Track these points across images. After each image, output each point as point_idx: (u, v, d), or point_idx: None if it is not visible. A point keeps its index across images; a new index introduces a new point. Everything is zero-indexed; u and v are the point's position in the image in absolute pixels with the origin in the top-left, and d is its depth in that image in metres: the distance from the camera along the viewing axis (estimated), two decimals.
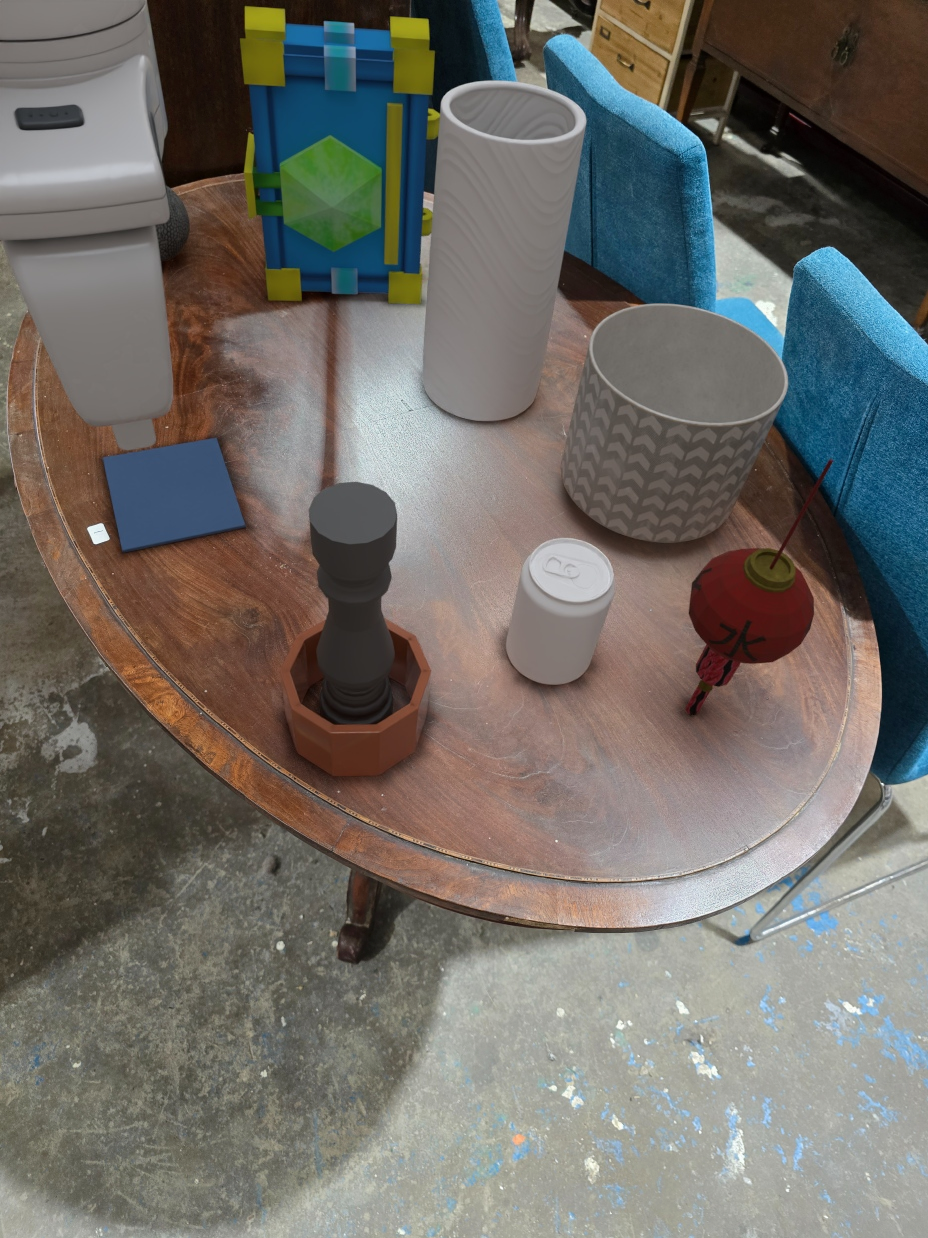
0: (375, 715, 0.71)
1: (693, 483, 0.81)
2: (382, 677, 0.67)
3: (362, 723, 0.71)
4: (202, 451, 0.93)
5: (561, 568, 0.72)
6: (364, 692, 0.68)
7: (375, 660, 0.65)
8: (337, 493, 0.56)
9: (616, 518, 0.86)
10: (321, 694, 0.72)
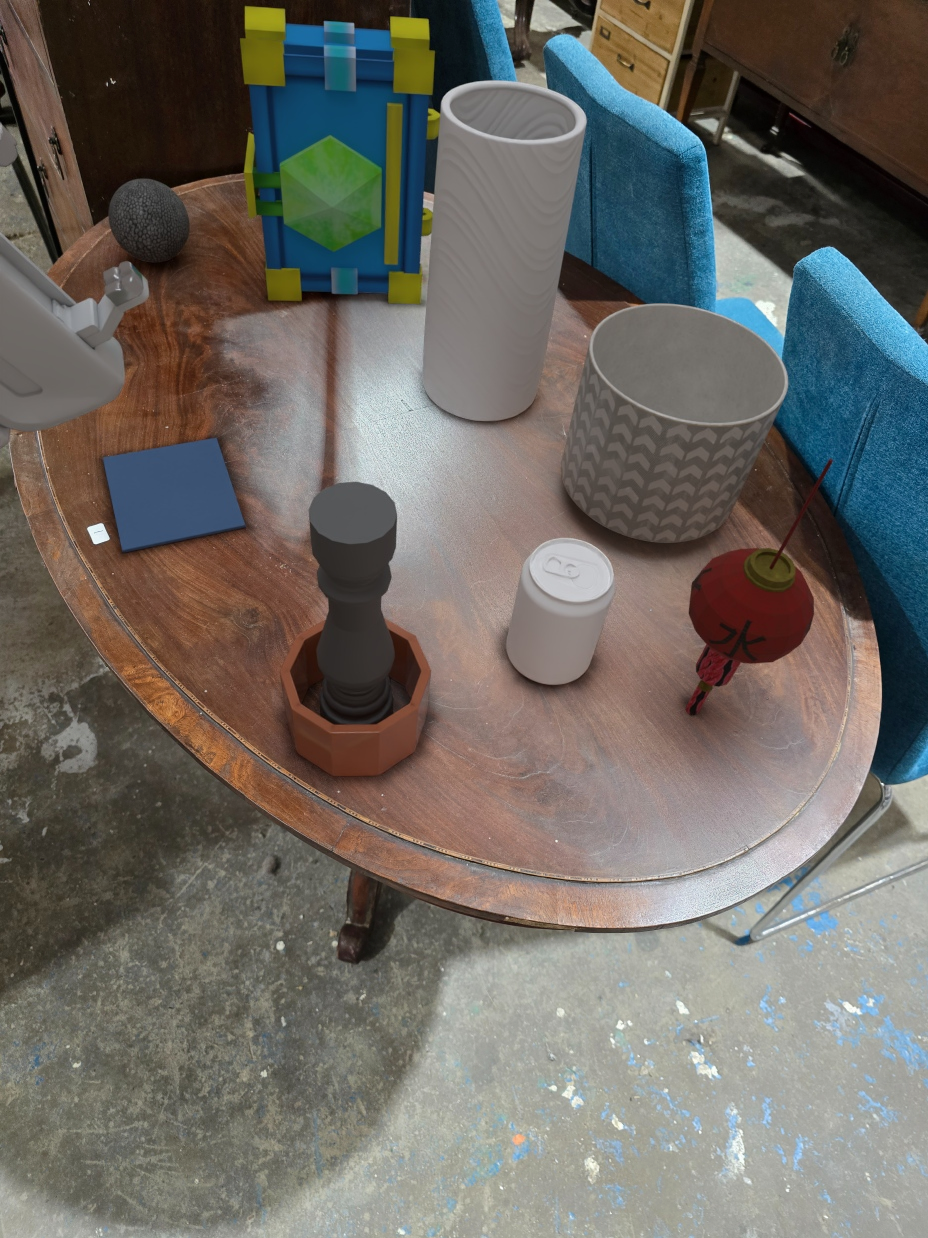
0: (375, 715, 0.71)
1: (693, 483, 0.81)
2: (382, 677, 0.67)
3: (362, 723, 0.71)
4: (202, 451, 0.93)
5: (561, 568, 0.72)
6: (364, 692, 0.68)
7: (375, 660, 0.65)
8: (337, 493, 0.56)
9: (616, 518, 0.86)
10: (321, 694, 0.72)
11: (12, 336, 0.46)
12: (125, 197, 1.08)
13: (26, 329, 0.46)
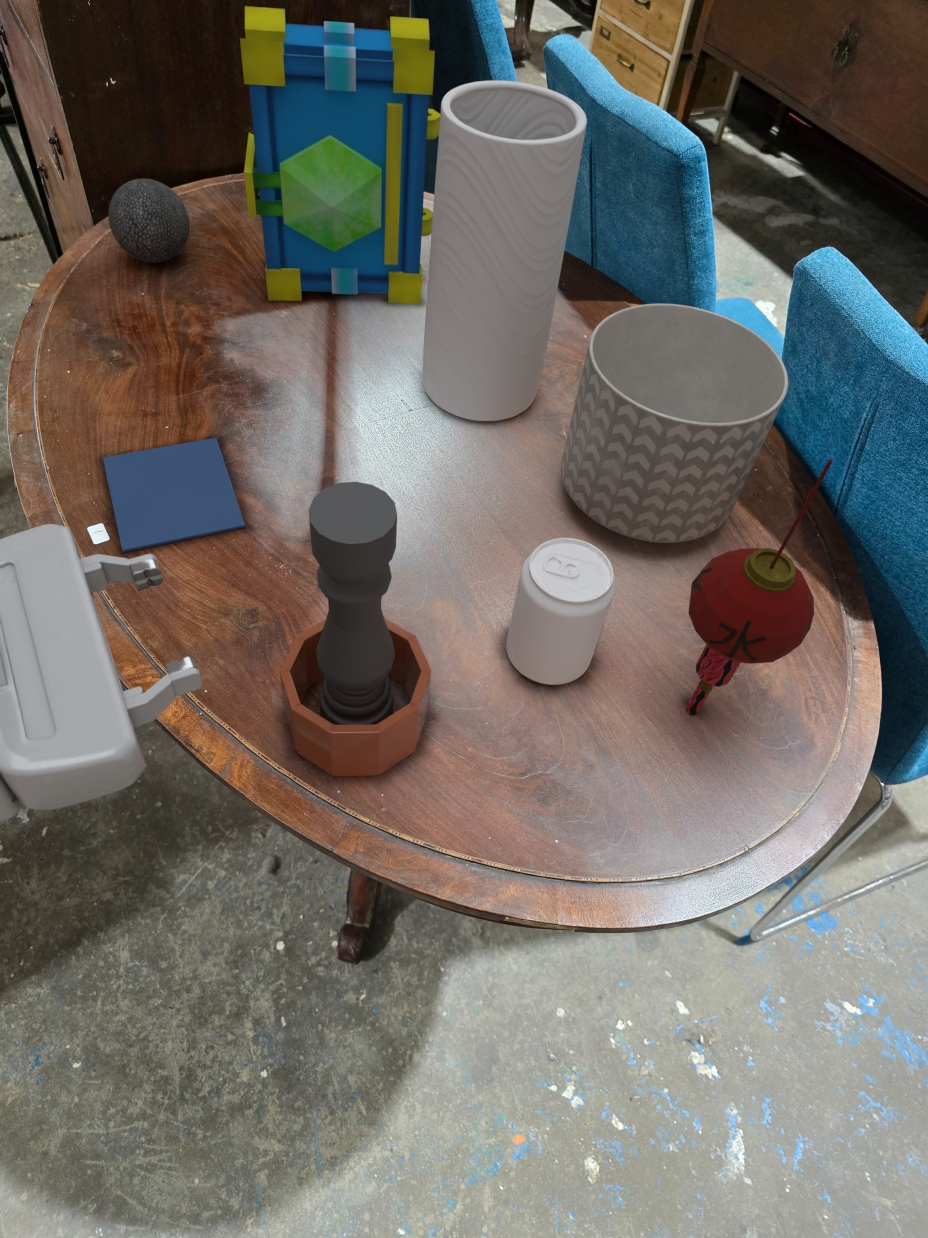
0: (375, 715, 0.71)
1: (693, 483, 0.81)
2: (382, 677, 0.67)
3: (362, 723, 0.71)
4: (202, 451, 0.93)
5: (561, 568, 0.72)
6: (364, 692, 0.68)
7: (375, 660, 0.65)
8: (337, 493, 0.56)
9: (616, 518, 0.86)
10: (321, 694, 0.72)
11: (69, 671, 0.52)
12: (125, 197, 1.08)
13: (85, 666, 0.52)
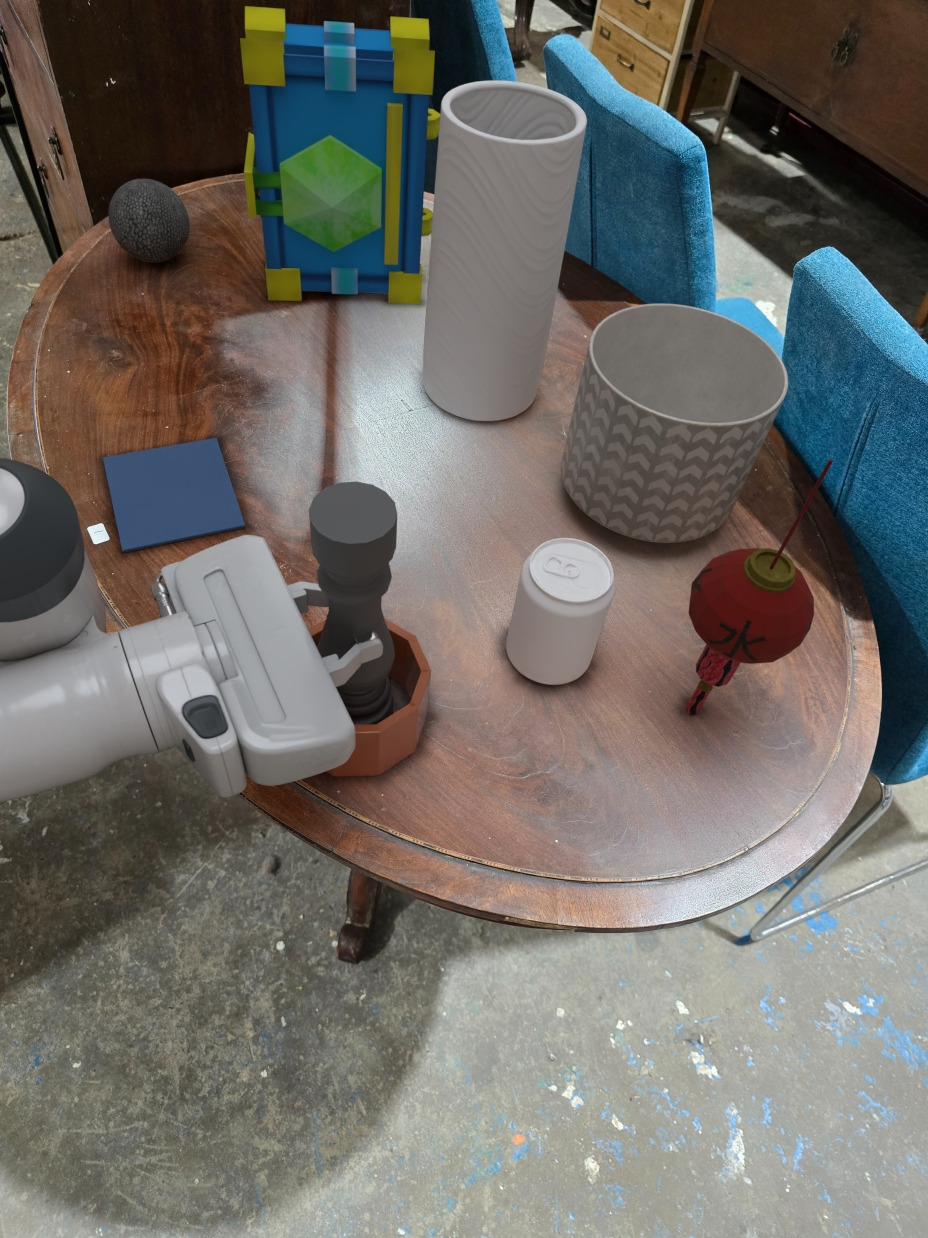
0: (375, 715, 0.71)
1: (693, 483, 0.81)
2: (382, 677, 0.67)
3: (362, 723, 0.71)
4: (202, 451, 0.93)
5: (561, 568, 0.72)
6: (364, 692, 0.68)
7: (375, 660, 0.65)
8: (337, 493, 0.56)
9: (616, 518, 0.86)
10: None
11: (288, 664, 0.59)
12: (125, 197, 1.08)
13: (301, 660, 0.60)
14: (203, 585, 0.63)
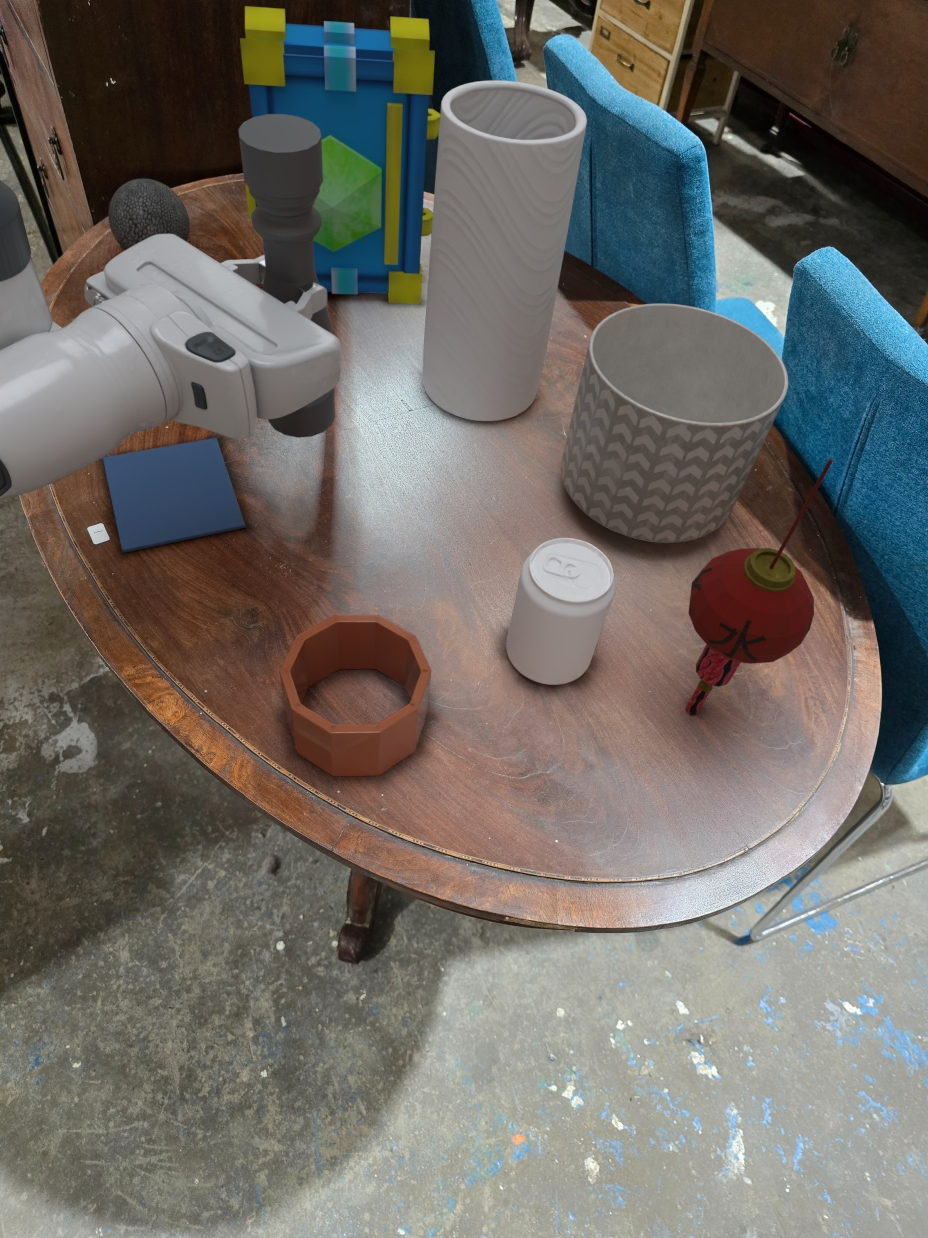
0: None
1: (693, 483, 0.81)
2: None
3: (316, 402, 0.76)
4: (202, 451, 0.93)
5: (561, 568, 0.72)
6: None
7: (319, 316, 0.70)
8: (257, 123, 0.60)
9: (616, 518, 0.86)
10: None
11: (256, 310, 0.63)
12: (125, 197, 1.08)
13: (265, 305, 0.64)
14: (140, 275, 0.65)
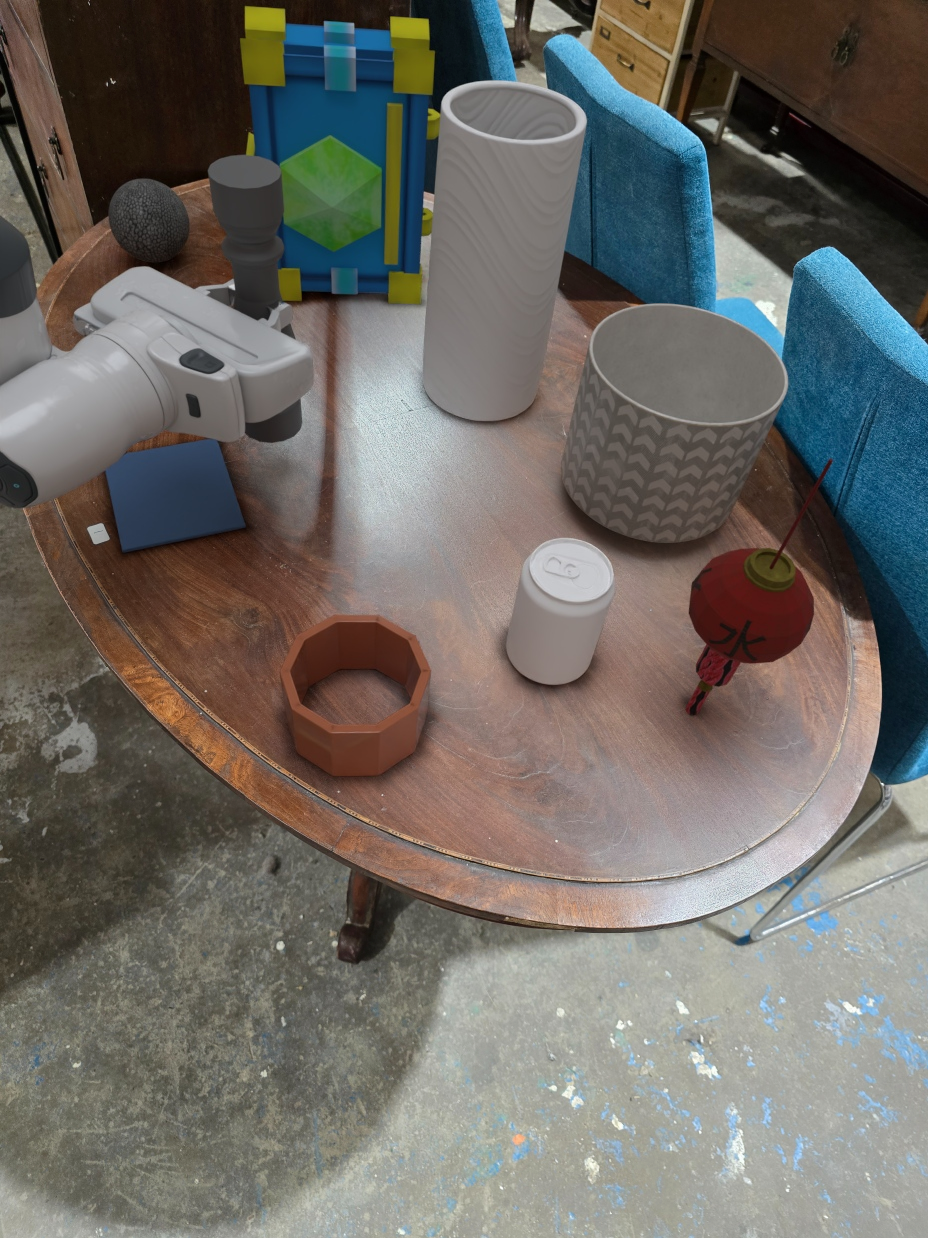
0: None
1: (693, 483, 0.81)
2: None
3: (286, 409, 0.84)
4: (202, 451, 0.93)
5: (561, 568, 0.72)
6: None
7: (286, 331, 0.78)
8: (223, 164, 0.68)
9: (616, 518, 0.86)
10: None
11: (234, 328, 0.71)
12: (125, 197, 1.08)
13: (241, 323, 0.72)
14: (124, 304, 0.72)
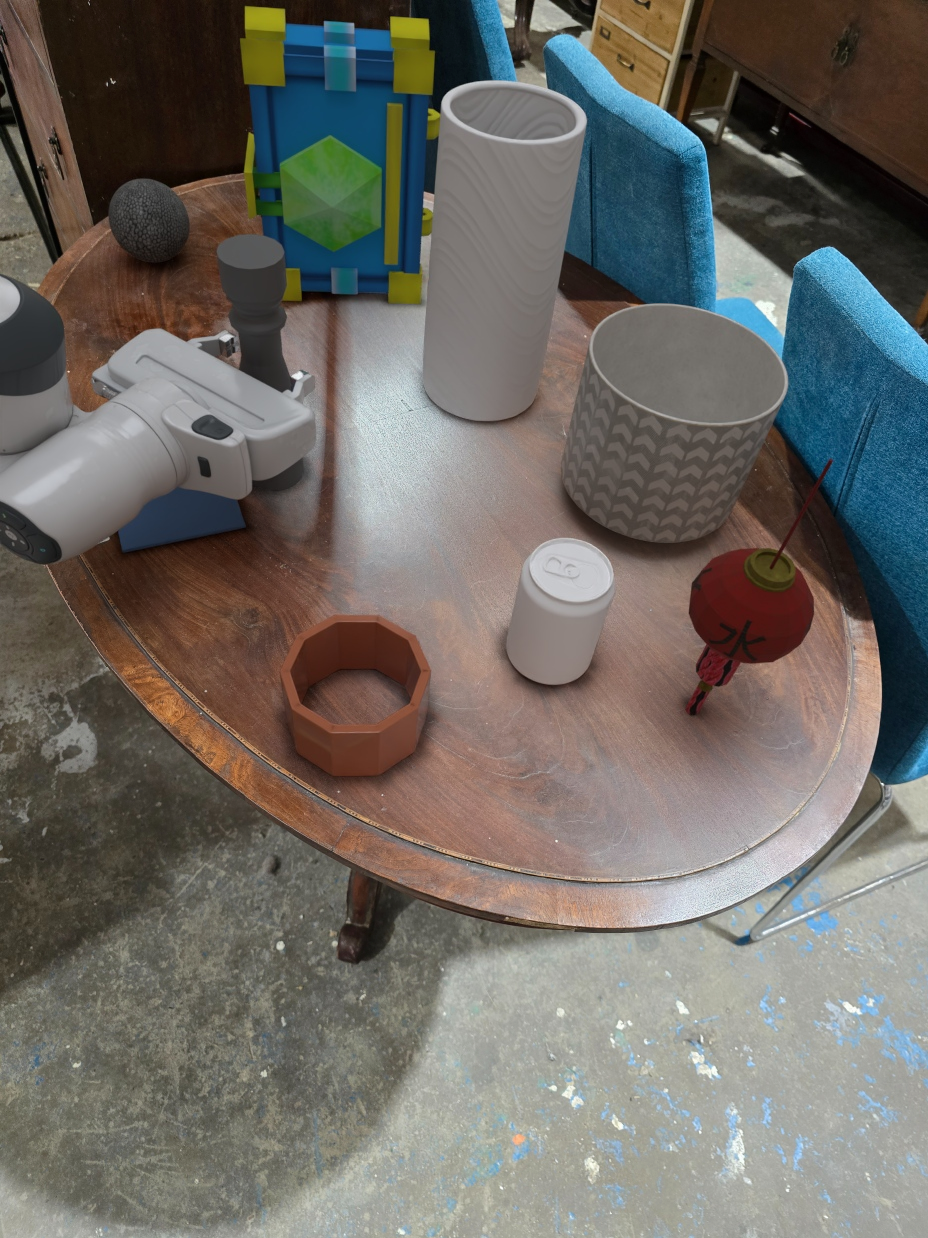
0: None
1: (693, 483, 0.81)
2: None
3: None
4: None
5: (561, 568, 0.72)
6: None
7: None
8: (230, 244, 0.74)
9: (616, 518, 0.86)
10: None
11: (242, 391, 0.76)
12: (125, 197, 1.08)
13: (249, 386, 0.77)
14: (139, 367, 0.77)
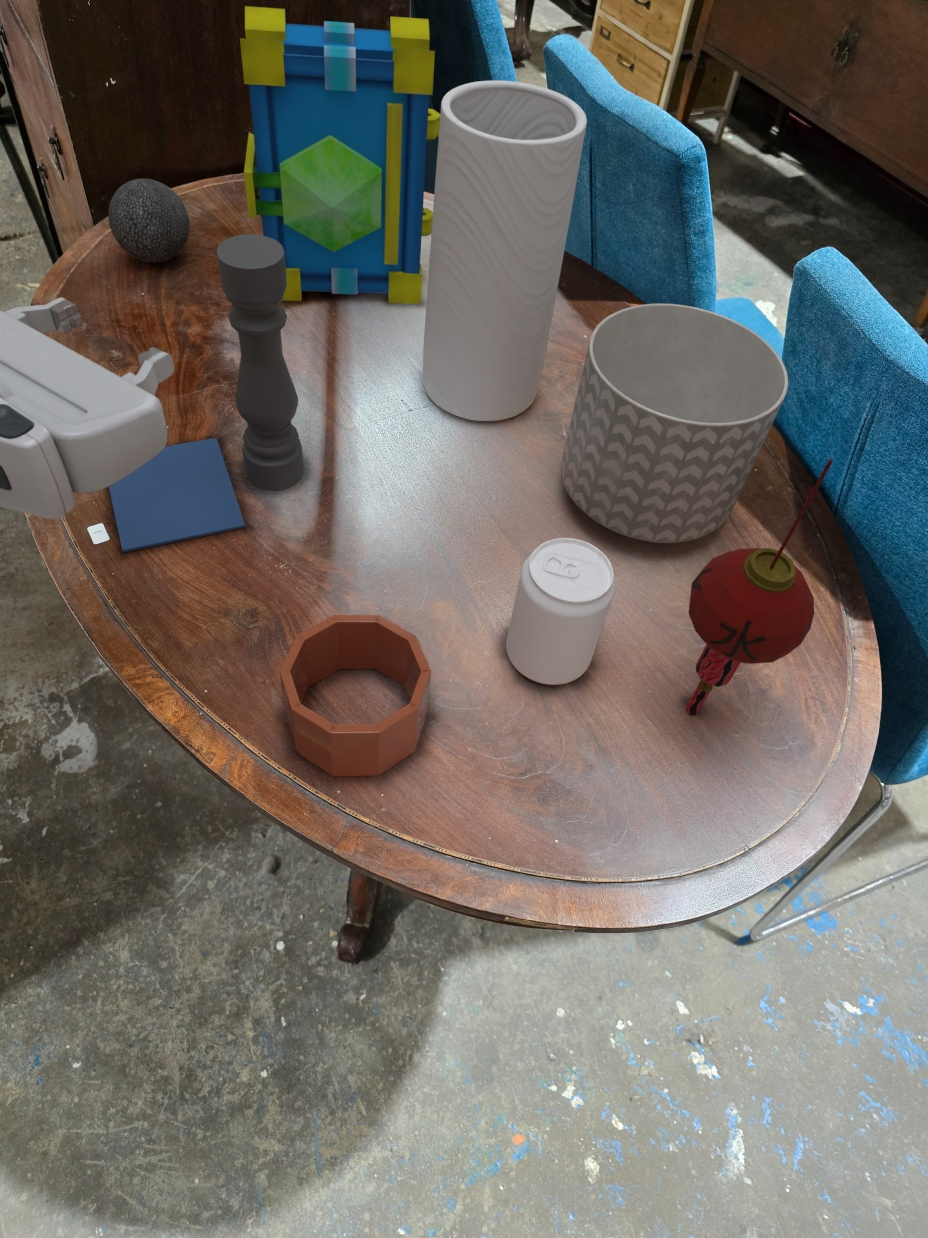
0: (294, 452, 0.90)
1: (693, 483, 0.81)
2: (296, 407, 0.86)
3: (288, 460, 0.89)
4: (202, 451, 0.93)
5: (561, 568, 0.72)
6: (284, 429, 0.87)
7: (288, 390, 0.84)
8: (230, 244, 0.74)
9: (616, 518, 0.86)
10: (246, 454, 0.89)
11: (64, 374, 0.57)
12: (125, 197, 1.08)
13: (75, 367, 0.57)
14: None
